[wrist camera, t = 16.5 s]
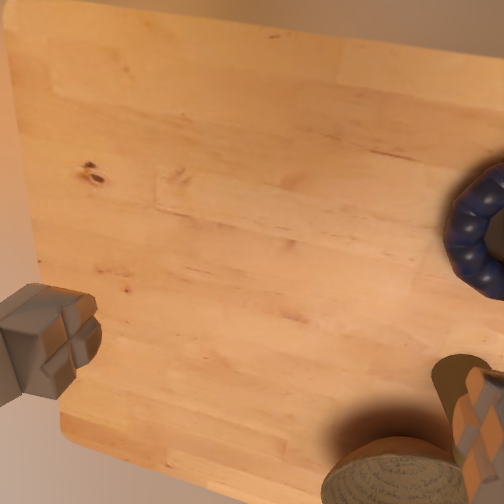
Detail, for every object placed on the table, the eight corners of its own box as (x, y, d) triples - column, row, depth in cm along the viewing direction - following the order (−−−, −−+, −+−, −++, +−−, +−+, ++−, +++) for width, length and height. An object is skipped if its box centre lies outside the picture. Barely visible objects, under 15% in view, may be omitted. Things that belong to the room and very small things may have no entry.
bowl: (455, 510, 51) (469, 581, 45) (317, 473, 55) (311, 533, 48) (505, 416, 43) (532, 486, 36) (337, 379, 46) (333, 437, 39)
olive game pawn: (439, 349, 41) (462, 439, 31) (501, 360, 40) (545, 457, 30) (425, 390, 44) (443, 483, 34) (483, 401, 43) (518, 501, 33)
